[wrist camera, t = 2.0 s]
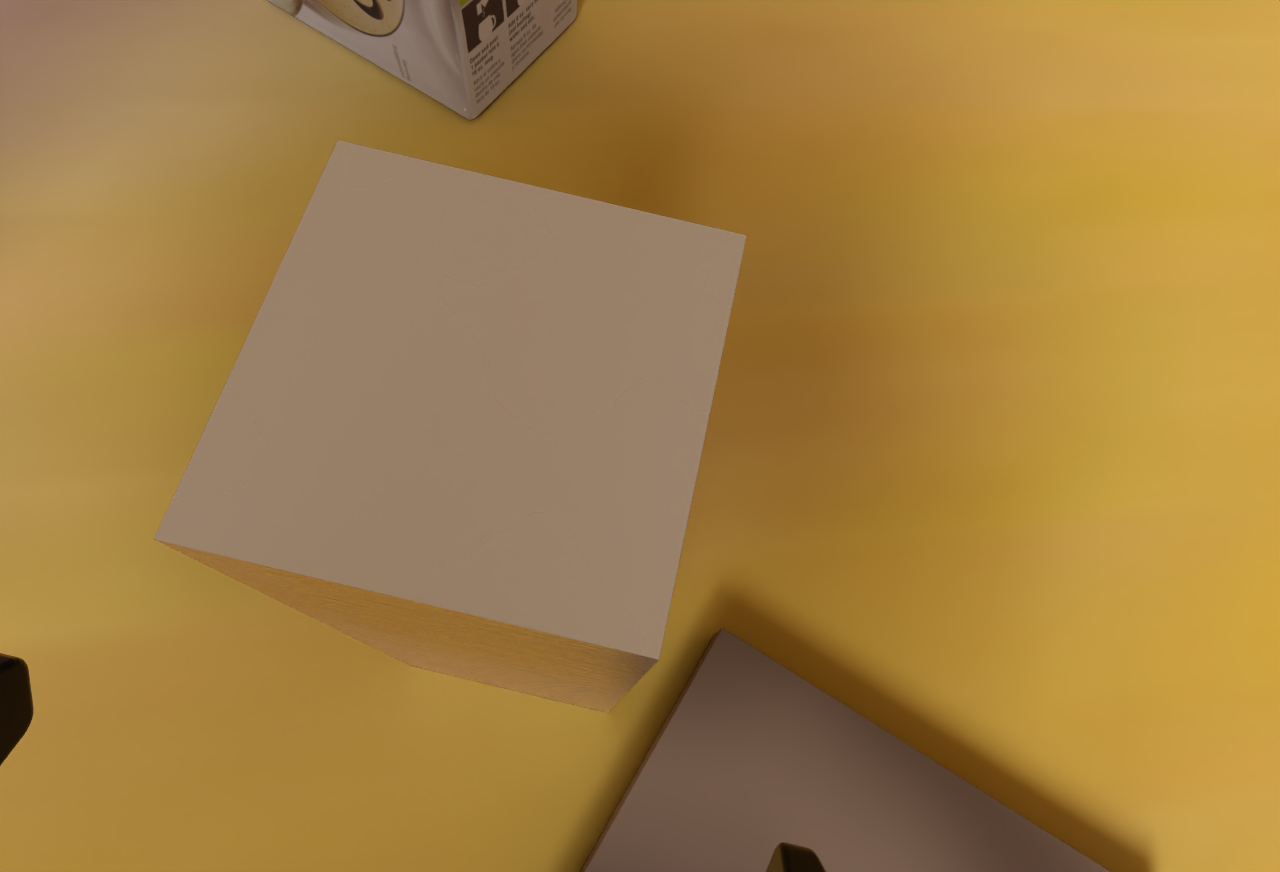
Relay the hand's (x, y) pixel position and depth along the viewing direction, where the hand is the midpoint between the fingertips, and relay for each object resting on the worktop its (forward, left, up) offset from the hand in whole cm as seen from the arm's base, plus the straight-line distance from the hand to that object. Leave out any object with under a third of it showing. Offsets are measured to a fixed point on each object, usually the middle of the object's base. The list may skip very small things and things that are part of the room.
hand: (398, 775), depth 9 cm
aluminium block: (+4, +1, -11) cm, 11 cm away
